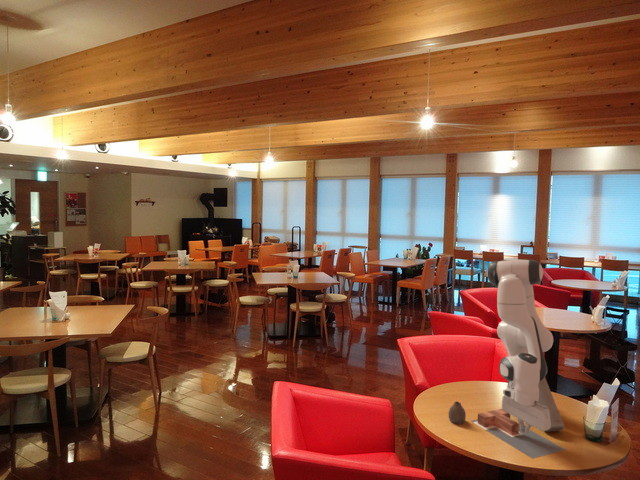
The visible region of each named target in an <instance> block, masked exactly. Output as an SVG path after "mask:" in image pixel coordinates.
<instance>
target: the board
mask: <svg viewBox="0 0 640 480" xmlns="http://www.w3.org/2000/svg"><path fill="white" fill-rule="evenodd" d="M471 423H473V424H475V425H476V426H478V427H480V428H481V429H483V430H485V431H486V432H488V433H489V434H491V435H493V436H494V437H496V438H497V439H500V440H501V441H502V442H504V443H506V444H508V445H510V446H511V447H512V448H514V449H516V450H517V451H519V452H521V453H523V454H524V455H526V456H527V457H529V458H531V459H537V458H539V457H544V456H547V455H551V454H555V453H559V452H562V451H566V448H564V447H562V446H561V445H558V444H557V443H555V442H553V441H551V440H549V439H548V438H545V437H544V436H542V435H540V434H538V433H537V432H534V431H533V430H531V429H529V433H525V432H523V431H521V430H520V425H519V433H518V434H514V435H510V434H508V433H507V432H505V431H503V430H501V429H500V428H498V427H496V426H494V425H493V426H489V427H483V426H481V425H480V424H478V418H477V419H473V420H471Z"/></svg>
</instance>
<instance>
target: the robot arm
mask: <svg viewBox="0 0 640 480" xmlns="http://www.w3.org/2000/svg"><path fill="white" fill-rule="evenodd" d="M543 276H544V269H543V267H542V264H541V263H540V261H538V260H535V259H507V260H500V261H499V260H495V261H491V262H490V263H489V264H488V265H487V269H486V277H487V280H488V281H489V283H490V284H491V285H492V286H494V287H495V288H497V293H496V294H497V295H496V296H497V297H496V302H497V303H496V306H497V307H496V308H497V309H496V310H497V314H498V317H499V318H500V320H501V321H500V322H499V323H498V324H497V325H498V326H497V327H496V332H497V333H496V334H497V336H498V338H499V339H500V340H501V341H502V343H503V345H504V347H505V349H506V351H507V355H508V356H503V357H502V358H501V359H500V361H499V366H498V371H499V374H500V375H501V377H502V378H503V379H505V380H506V381H507V384H506V388H504V389H503V390H502V393H503V396H502V397H501V398H502V399H501V409H503V411H505V412H507V413H509V414H510V416H512V417H515V418H517V423H519V425H520V430H521V431H523V432H525V433H529V430H531V428H532V427H534V428H535V429H538V430H540V431H542V432H544V431H546V430H549V429H550V428H551V421H550V411H549V409H548V408H547V406H545V405H543V404H541V403H539V388H538V383H539V381H541V380H543V378H544V377H545V378H546V376H547V374H548V366H547V365H548V364H547V362H546V359H545V357H544V353H545V352H547V351H549V350H550V349H551V348H552V346H553V343H554V335H553V333H552V332H551V331H550V329H548V328H547V327H546V326H545V324H543V322H542V321H541V319H540V317H539V314H538V312H537V308H536V301H535V293H534V287H533V286H534V285H539V284H540V283H541V282H542V280H543ZM546 408H547V409H546Z"/></svg>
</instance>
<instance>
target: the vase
mask: <svg viewBox="0 0 640 480" xmlns="http://www.w3.org/2000/svg"><path fill="white" fill-rule="evenodd" d="M448 419H449V420H448V421H450V423H452V424H455V425H462V424H464V423H465V421H466V419H467V414H466V410H465V408H464V407H463V406H462V404H461V402H460V401H454V403H453V404H452V405H451V406H450V407H449V409H448Z"/></svg>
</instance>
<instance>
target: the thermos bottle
mask: <svg viewBox="0 0 640 480" xmlns="http://www.w3.org/2000/svg"><path fill="white" fill-rule="evenodd" d="M538 388H539V403H541V404H543V405H545V406H547V408H548V409H549V411H550V421H551V428H550V429H549V430H546V431H543V432H544V433H545V432H559V431H562V430H564V429H565V428H566V426H565V423H564V421H563V419H562V416H561V414H560V412H559V409H558V407H557V404H556V402H555V399H554V396H553V394H552V392H551V389H550V386H549V384H548V381H547V378H546V376H545V377H544V378H543V380H541V381H539V383H538ZM547 408H546V409H547Z"/></svg>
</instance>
